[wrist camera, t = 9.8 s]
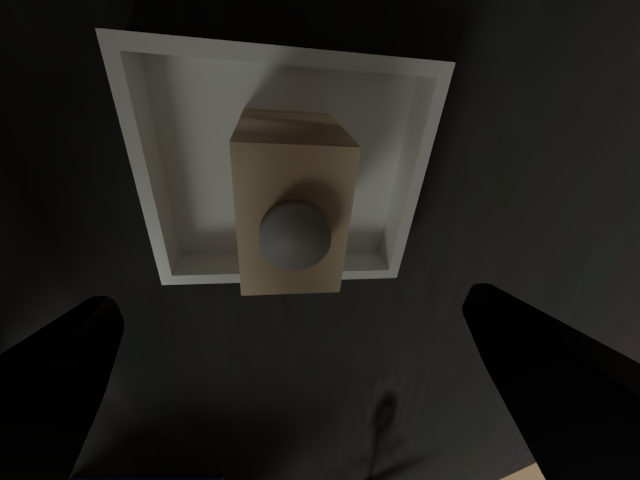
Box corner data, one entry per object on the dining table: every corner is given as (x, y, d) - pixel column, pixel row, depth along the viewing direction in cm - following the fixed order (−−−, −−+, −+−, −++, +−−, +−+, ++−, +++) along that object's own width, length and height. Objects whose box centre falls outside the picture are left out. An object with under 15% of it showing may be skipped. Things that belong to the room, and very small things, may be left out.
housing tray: (174, 257, 18) (161, 284, 16) (125, 31, 12) (95, 27, 10) (383, 254, 20) (396, 277, 18) (428, 60, 14) (455, 62, 12)
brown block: (249, 222, 17) (239, 310, 11) (243, 107, 14) (226, 149, 8) (319, 222, 18) (343, 305, 12) (329, 113, 14) (368, 154, 9)
